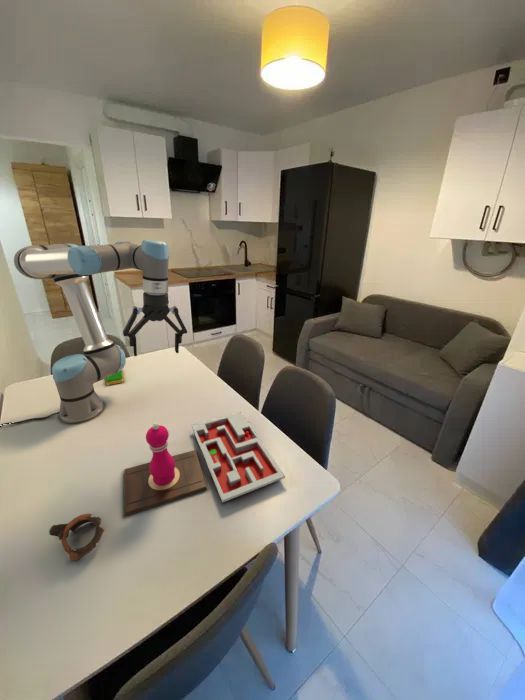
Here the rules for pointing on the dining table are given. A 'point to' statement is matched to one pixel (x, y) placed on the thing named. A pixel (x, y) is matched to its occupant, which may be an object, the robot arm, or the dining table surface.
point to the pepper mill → (160, 455)
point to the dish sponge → (115, 378)
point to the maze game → (235, 456)
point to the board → (149, 494)
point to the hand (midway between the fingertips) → (156, 353)
